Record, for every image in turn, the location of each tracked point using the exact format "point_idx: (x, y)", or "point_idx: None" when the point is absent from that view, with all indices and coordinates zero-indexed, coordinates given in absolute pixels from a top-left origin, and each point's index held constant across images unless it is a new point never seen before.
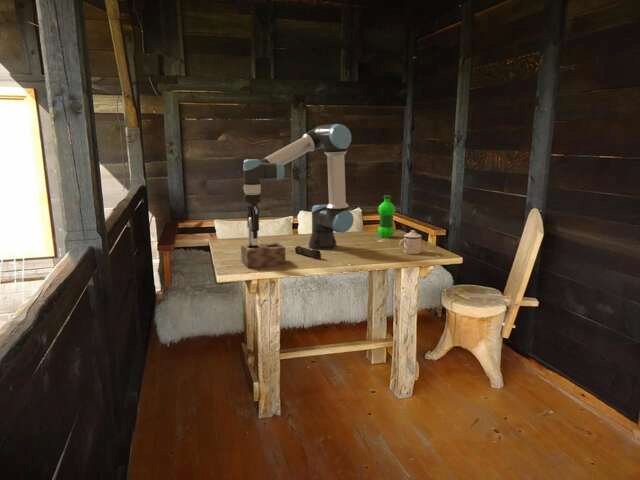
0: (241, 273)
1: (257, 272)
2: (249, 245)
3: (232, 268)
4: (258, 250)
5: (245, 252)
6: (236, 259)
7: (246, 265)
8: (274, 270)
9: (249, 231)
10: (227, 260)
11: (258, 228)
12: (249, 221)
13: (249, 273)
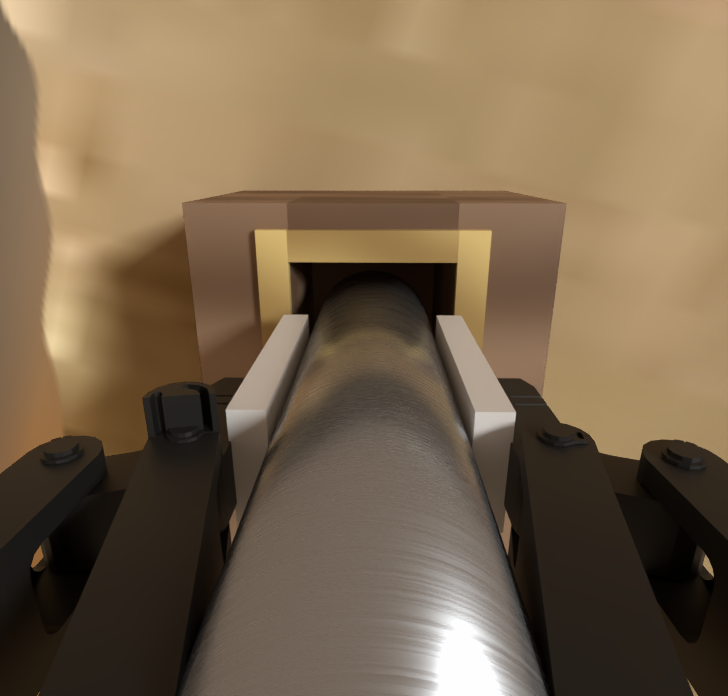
0: (60, 79)
1: (69, 240)
2: (359, 290)
3: (276, 28)
4: (200, 355)
5: (293, 199)
6: (632, 165)
7: (283, 191)
8: (107, 391)
9: (333, 375)
10: (641, 51)
11: (37, 578)
12: (281, 555)
13: (47, 158)
